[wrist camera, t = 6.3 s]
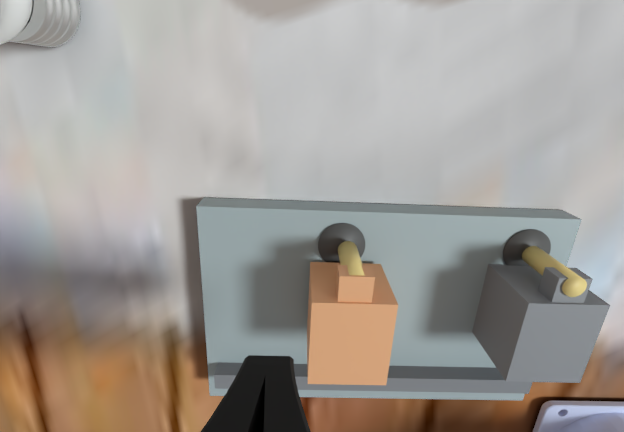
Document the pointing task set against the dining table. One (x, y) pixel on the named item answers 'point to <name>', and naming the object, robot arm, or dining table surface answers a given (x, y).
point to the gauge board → (403, 293)
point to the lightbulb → (39, 21)
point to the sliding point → (349, 321)
